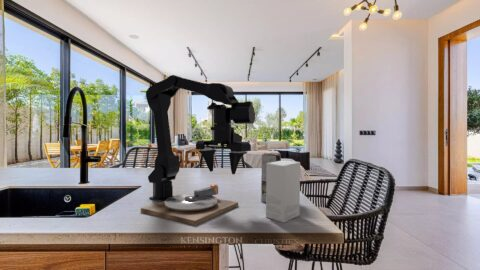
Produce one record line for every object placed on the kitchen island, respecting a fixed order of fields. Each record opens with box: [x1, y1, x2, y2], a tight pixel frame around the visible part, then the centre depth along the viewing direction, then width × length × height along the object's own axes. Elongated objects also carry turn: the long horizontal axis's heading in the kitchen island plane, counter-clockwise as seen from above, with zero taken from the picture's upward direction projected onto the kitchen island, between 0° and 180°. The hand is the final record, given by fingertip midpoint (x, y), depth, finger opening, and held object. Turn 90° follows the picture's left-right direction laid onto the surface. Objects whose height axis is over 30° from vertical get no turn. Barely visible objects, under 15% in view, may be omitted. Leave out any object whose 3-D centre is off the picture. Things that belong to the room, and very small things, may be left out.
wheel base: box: [140, 198, 239, 226], centre depth 83 cm, size 21×21×1 cm
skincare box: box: [265, 159, 301, 223], centre depth 76 cm, size 8×7×16 cm
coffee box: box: [260, 152, 282, 203], centre depth 96 cm, size 9×6×16 cm
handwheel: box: [165, 183, 219, 212], centre depth 85 cm, size 19×16×4 cm
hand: (222, 172), depth 86 cm, fingers open, 9 cm apart
